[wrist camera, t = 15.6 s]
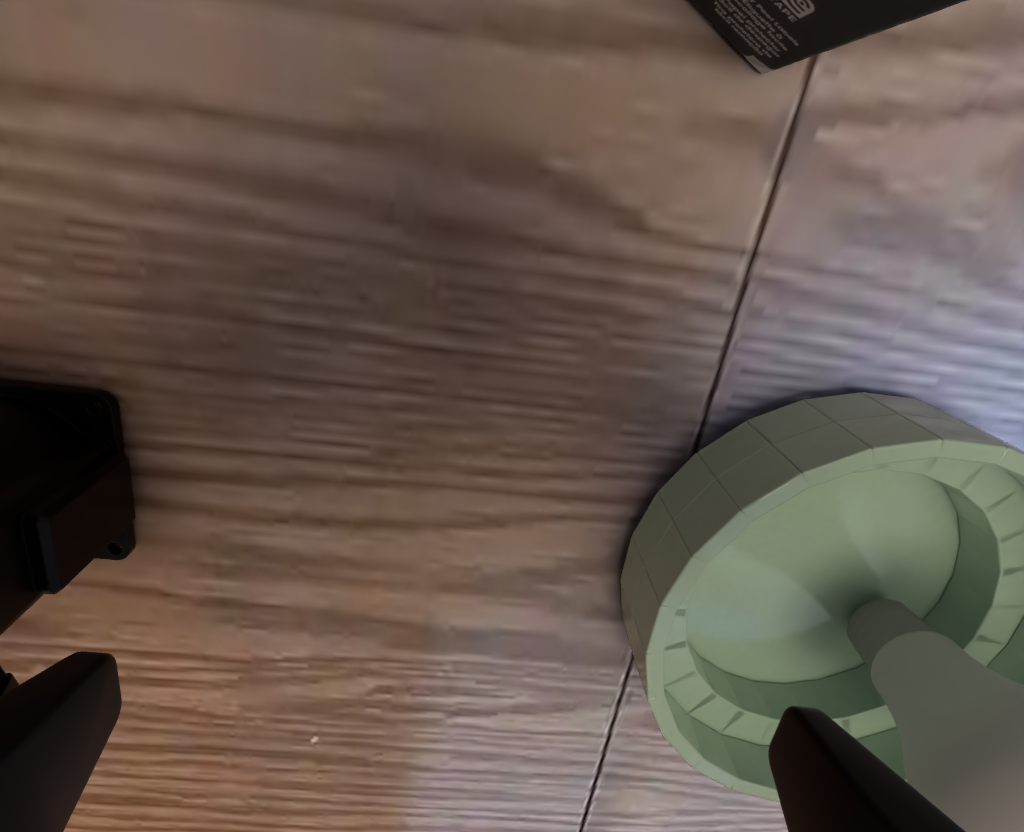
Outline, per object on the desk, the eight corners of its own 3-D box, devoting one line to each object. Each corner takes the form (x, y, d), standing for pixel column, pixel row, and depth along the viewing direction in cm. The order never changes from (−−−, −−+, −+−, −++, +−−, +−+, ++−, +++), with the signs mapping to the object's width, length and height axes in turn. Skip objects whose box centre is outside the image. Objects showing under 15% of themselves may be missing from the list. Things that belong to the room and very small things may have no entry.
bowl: (585, 691, 25) (604, 792, 21) (669, 362, 20) (718, 411, 16) (906, 715, 27) (983, 814, 23) (1070, 414, 21) (1213, 471, 17)
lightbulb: (760, 636, 24) (964, 978, 14) (860, 524, 22) (1182, 824, 12) (871, 685, 25) (1131, 1030, 15) (974, 583, 23) (1352, 899, 13)
